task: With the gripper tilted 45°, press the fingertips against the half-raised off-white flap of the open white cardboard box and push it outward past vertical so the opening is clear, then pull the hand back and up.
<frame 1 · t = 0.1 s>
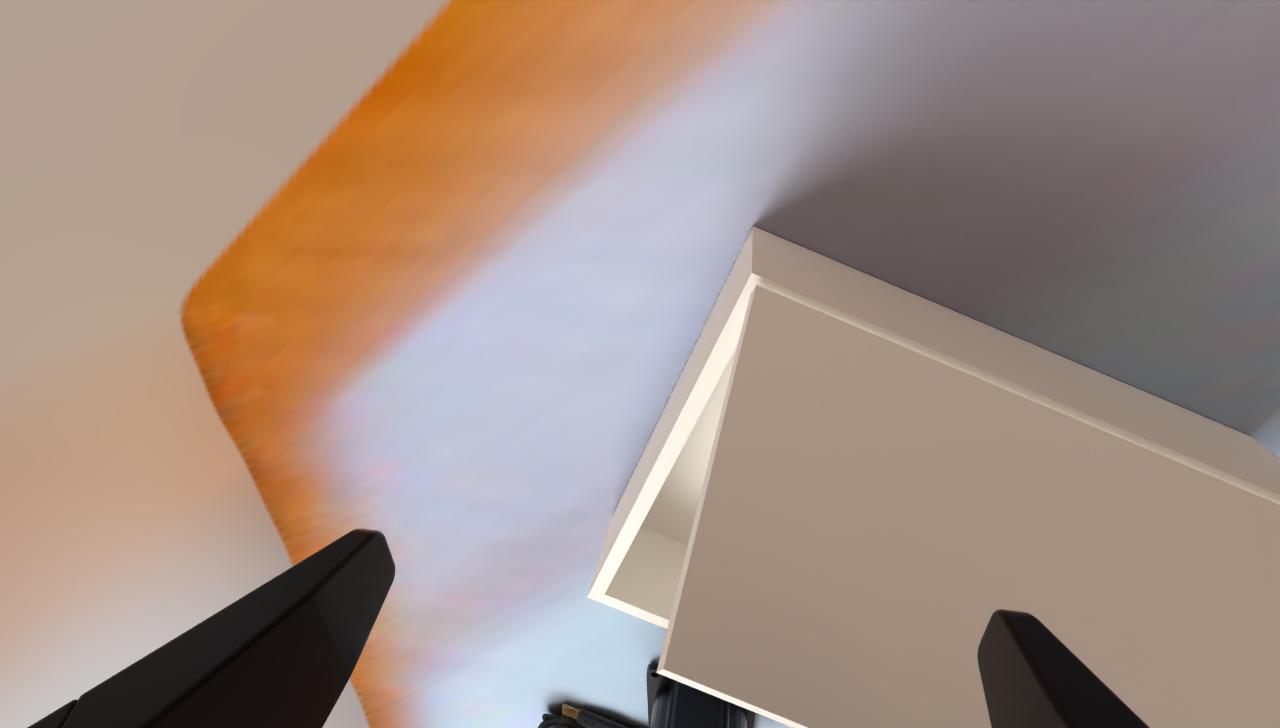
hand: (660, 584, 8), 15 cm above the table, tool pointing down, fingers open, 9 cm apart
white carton: (881, 481, 24), on the table
box flap: (1114, 595, 13), point 10 cm above the table, hinge at -20.0°
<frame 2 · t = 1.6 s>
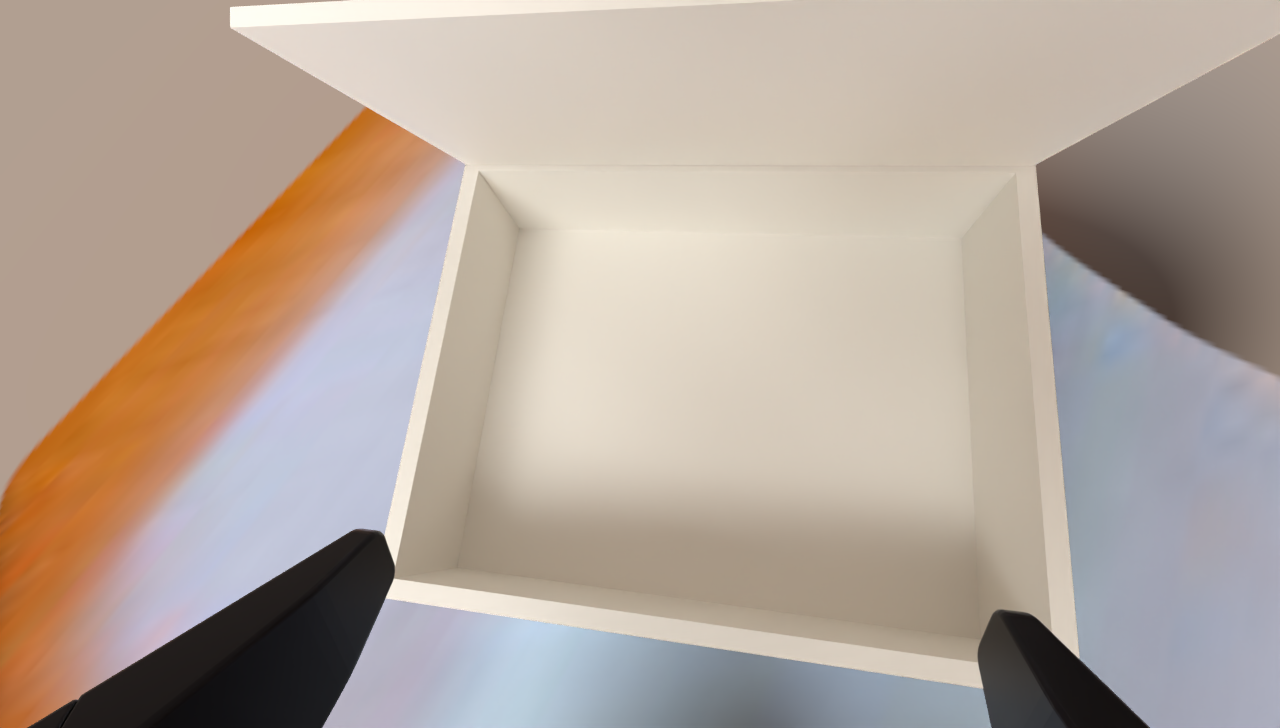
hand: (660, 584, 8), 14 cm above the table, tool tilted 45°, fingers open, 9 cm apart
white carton: (713, 404, 23), on the table
box flap: (721, 104, 15), point 10 cm above the table, hinge at -20.0°
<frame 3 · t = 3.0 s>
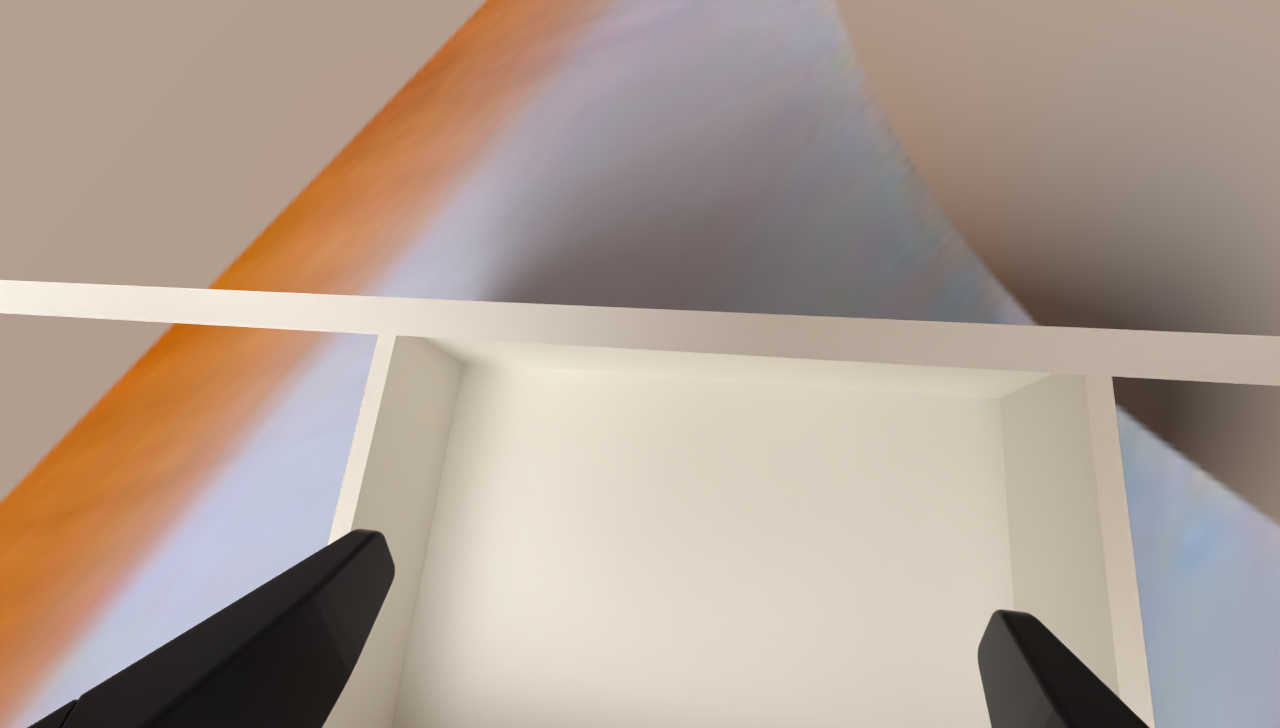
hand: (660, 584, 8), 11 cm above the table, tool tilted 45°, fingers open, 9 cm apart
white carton: (694, 600, 18), on the table
box flap: (689, 327, 10), point 10 cm above the table, hinge at -20.0°
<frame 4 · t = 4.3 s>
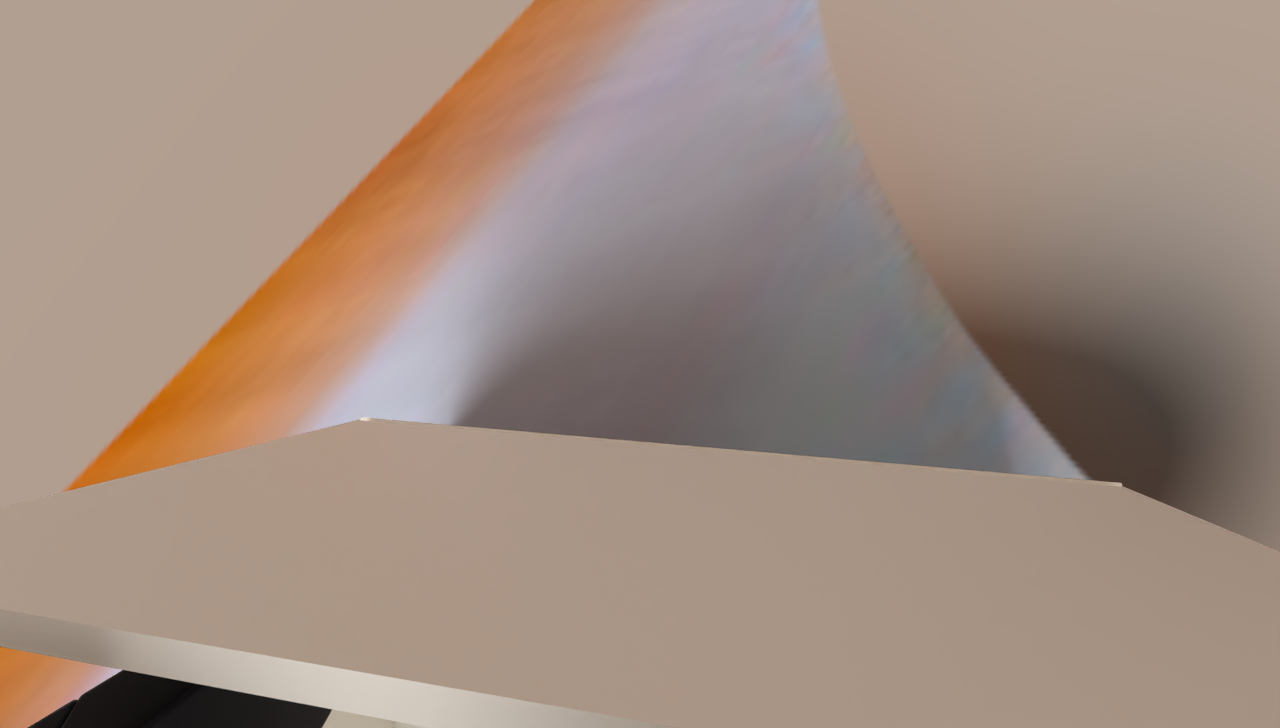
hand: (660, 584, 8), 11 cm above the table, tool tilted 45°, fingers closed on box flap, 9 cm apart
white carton: (685, 722, 17), on the table
box flap: (673, 524, 9), point 10 cm above the table, hinge at -20.0°, touching gripper
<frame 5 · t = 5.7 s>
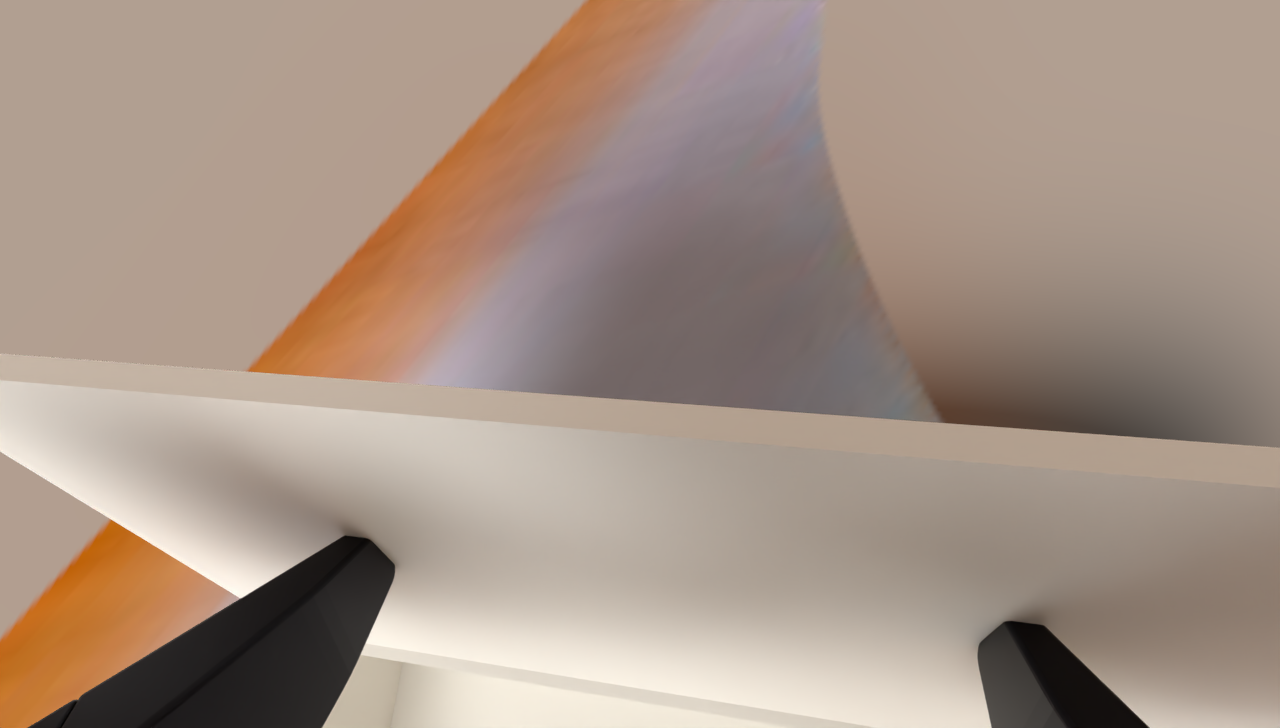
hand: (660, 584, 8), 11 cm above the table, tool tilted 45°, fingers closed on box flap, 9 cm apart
box flap: (665, 604, 9), point 10 cm above the table, hinge at 27.9°, touching gripper
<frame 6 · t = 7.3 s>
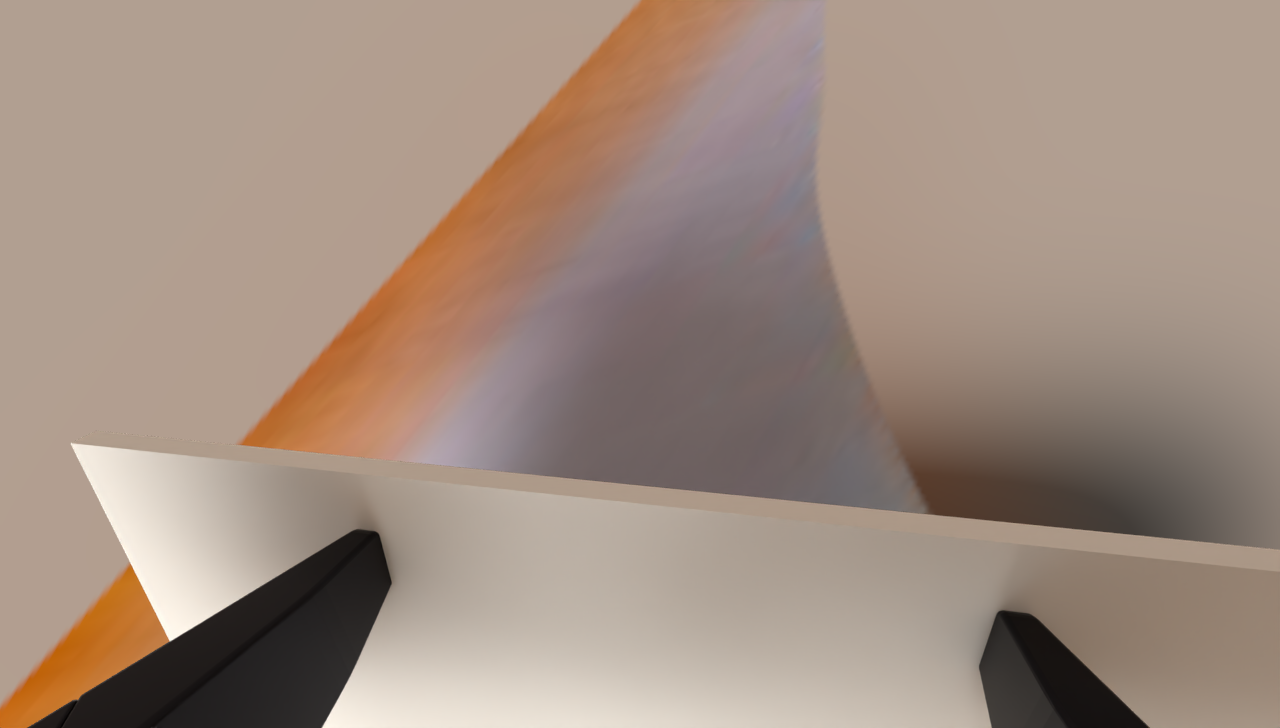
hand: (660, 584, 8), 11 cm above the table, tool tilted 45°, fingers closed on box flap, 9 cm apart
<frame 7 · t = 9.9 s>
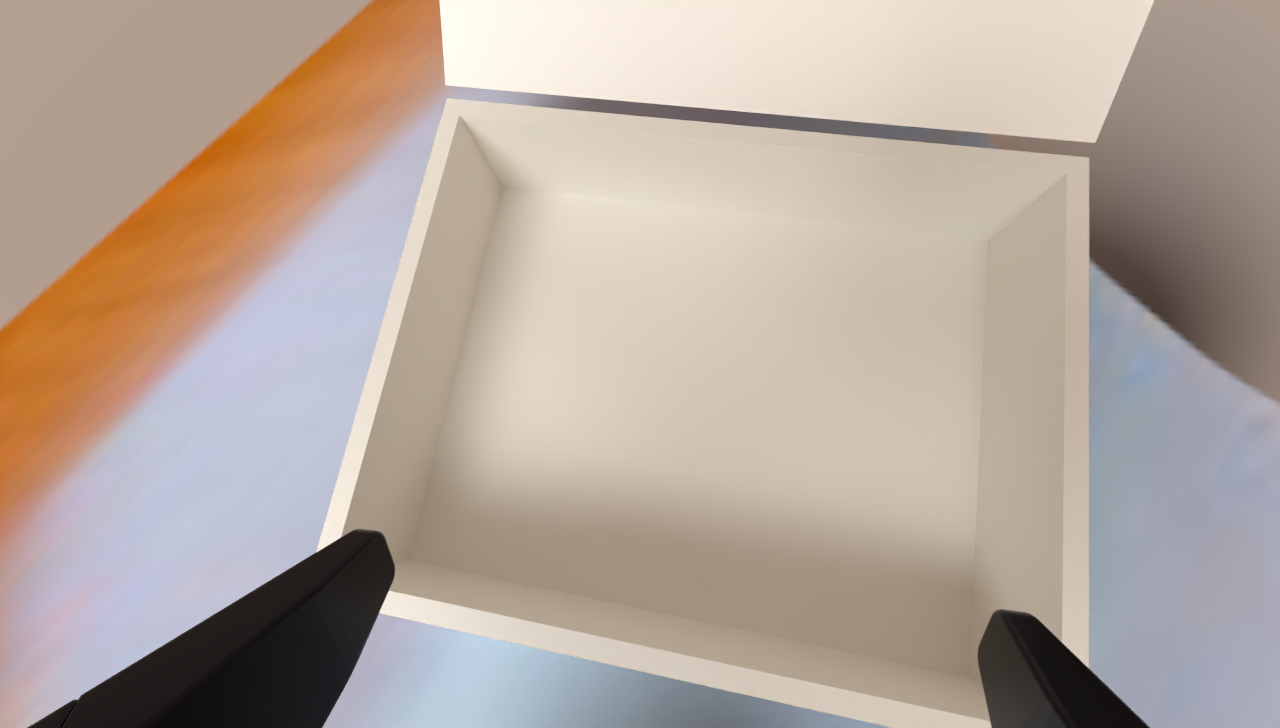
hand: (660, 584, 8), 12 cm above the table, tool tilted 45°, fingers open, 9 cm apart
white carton: (703, 400, 21), on the table
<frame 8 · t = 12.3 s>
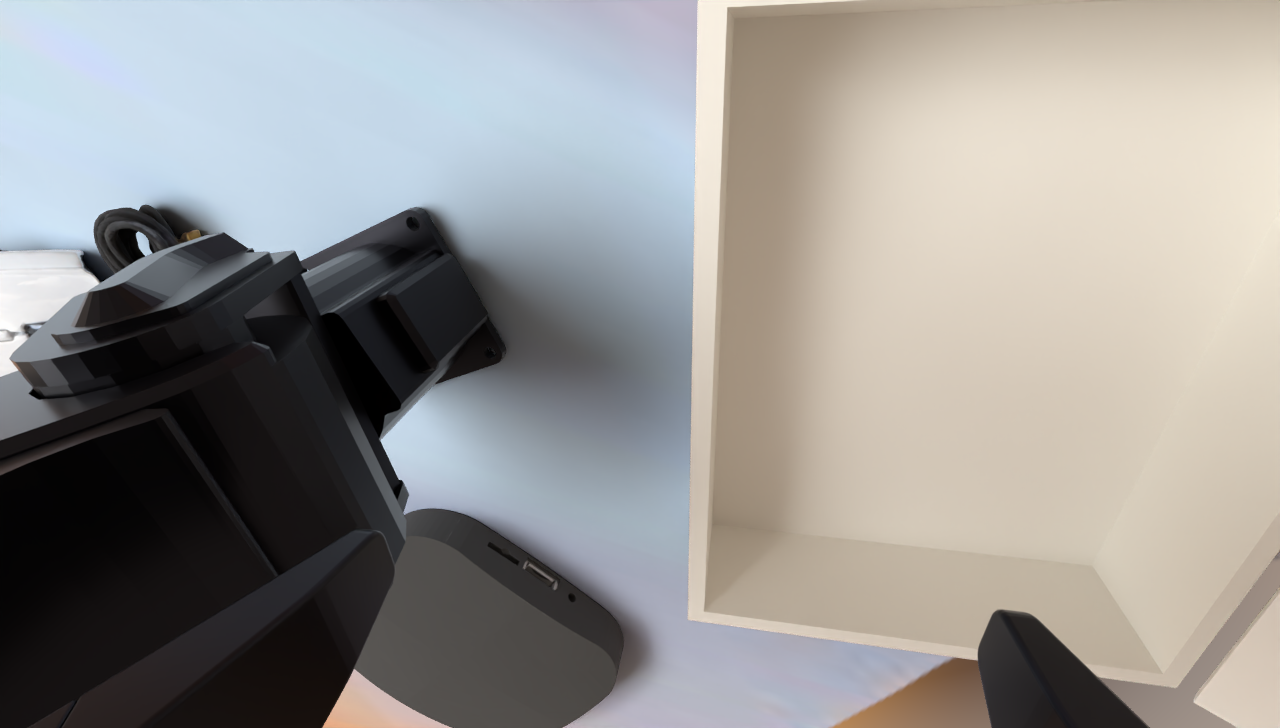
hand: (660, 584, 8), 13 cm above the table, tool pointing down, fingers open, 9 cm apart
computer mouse: (100, 307, 26), on the table
media streaming box: (481, 612, 32), on the table
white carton: (940, 333, 19), on the table
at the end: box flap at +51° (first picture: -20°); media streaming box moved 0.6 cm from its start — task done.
